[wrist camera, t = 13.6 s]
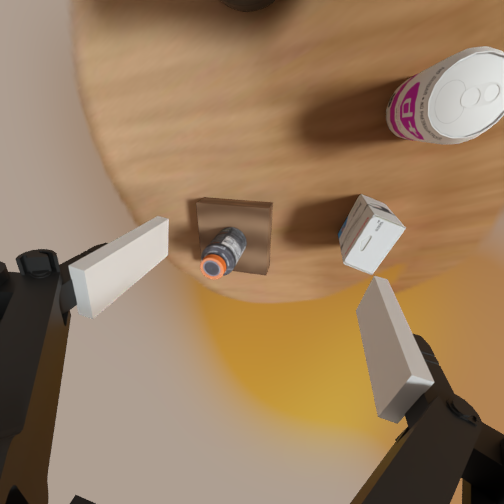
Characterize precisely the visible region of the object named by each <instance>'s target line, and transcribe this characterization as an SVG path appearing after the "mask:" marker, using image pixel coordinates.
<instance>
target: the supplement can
mask: <svg viewBox="0 0 504 504" xmlns="http://www.w3.org/2000/svg"><path fill="white" fill-rule="evenodd" d="M503 115H504V52H503V51H500V50H497V49H494V48H491V47H487V46H485V47H476V48H468V49H466V50H463V51H461V52H459V53H457V54H455V55H452V56H450V57H448V58H446V59H445V60H443V61H441V62H439V63H437V64H435V65H433V66H431V67H430V68H428V69H426V70H424V71H422V72H420V73H418V74H417V75H415V76H413V77H411V78H409V79H407V80H406V81H405V82H404V83H402V84H401V85H400V86H399V87H398V88H397V89H396V90H395V92H394V93H393V95H392V96H391V98H390V100H389V103H388V106H387V109H386V122H387V125H388V127H389V129H390V131H391V132H392V133H394V134H395V135H396V136H397V137H400V138H403V139H407V140H414V141H421V142H429V143H436V144H459V143H462V142H465V141H468V140H471V139H474V138H476V137H477V136H479V135H480V134H482V133H483V132H485V131H486V130H488V129H489V128H491V127H492V126H493V125H494V124H496V123H497V122H498V121H499V120H500V118H501V117H502V116H503Z"/></svg>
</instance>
